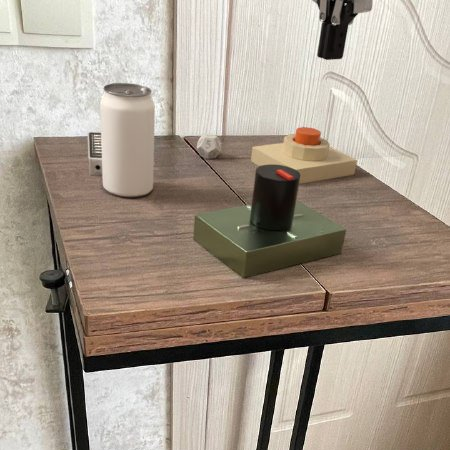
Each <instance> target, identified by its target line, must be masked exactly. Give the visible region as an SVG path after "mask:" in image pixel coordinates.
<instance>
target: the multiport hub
mask: <svg viewBox="0 0 450 450" xmlns="http://www.w3.org/2000/svg"><path fill="white" fill-rule="evenodd" d="M87 156H88V158H87V159H88V175H89V176H95V177H103V174H102V145H101V132H95V131H94V132H93V131H90V132H87Z"/></svg>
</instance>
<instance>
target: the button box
mask: <svg viewBox="0 0 450 450" xmlns="http://www.w3.org/2000/svg"><path fill="white" fill-rule="evenodd" d="M295 135H296V133H291V134H288V135H285V136H284V138H283V142H280V143H271V144H263V145H256V146H252V148H251V157H250V162H252V163H253V164H255V165H256V166H257V167H259V166H262V165H269V164H274V165H283V166H287V167H290V168H293V169H295V170H297V171H298V172H299V173H300V182H299V185H300V184H301V185H302V184H307V183H311V182H312V183H313V182H318V181H319V182H320V181H325V180H330V179H335V178H341V177H347V176H353V175H355V172H356V168H357V164H358V159H356V158H354V157H353V156H350V155H348V154H346V153H344V152H342V151H340V150H338V149H335V148H333V147H332V146H331V145H330V142H329V141H328V140H327V139H325V138H323V137H321V136H320V141H319V145H316V146H310V145H302V144H299V143H297V142H295Z"/></svg>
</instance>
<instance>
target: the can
mask: <svg viewBox="0 0 450 450" xmlns="http://www.w3.org/2000/svg"><path fill="white" fill-rule="evenodd" d="M99 109H100V133H101V145H102V174H103V176H102V187H103V188H104V189H105V191H106V192H107V193H109V194H110V195H112V196H116V197H120V198H129V199H131V198H142V197H144V196H145V197H146V196H147V195H149V194H150V193H151V192H152V190H153V188H154V173H155V169H154V168H155V166H154V165H155V118H156V117H155V113H156V112H155V111H156V110H155V102H154V100H153V97H152V90H151V88H150V87H148V86H145V85H142V84H138V83H130V82H113V83H112V82H111V83H108V84H105V85H104V86H103V94H102V96H101V99H100V107H99Z"/></svg>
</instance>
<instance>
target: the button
mask: <svg viewBox="0 0 450 450" xmlns="http://www.w3.org/2000/svg"><path fill="white" fill-rule="evenodd" d="M295 134H296V135H295V142H297V143H299V144H302V145H310V146H316V145H319V141H320V137H321V136H322V132H321V130H319V129H316V128H312V127H308V126H301V127H297V128H296V129H295Z"/></svg>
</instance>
